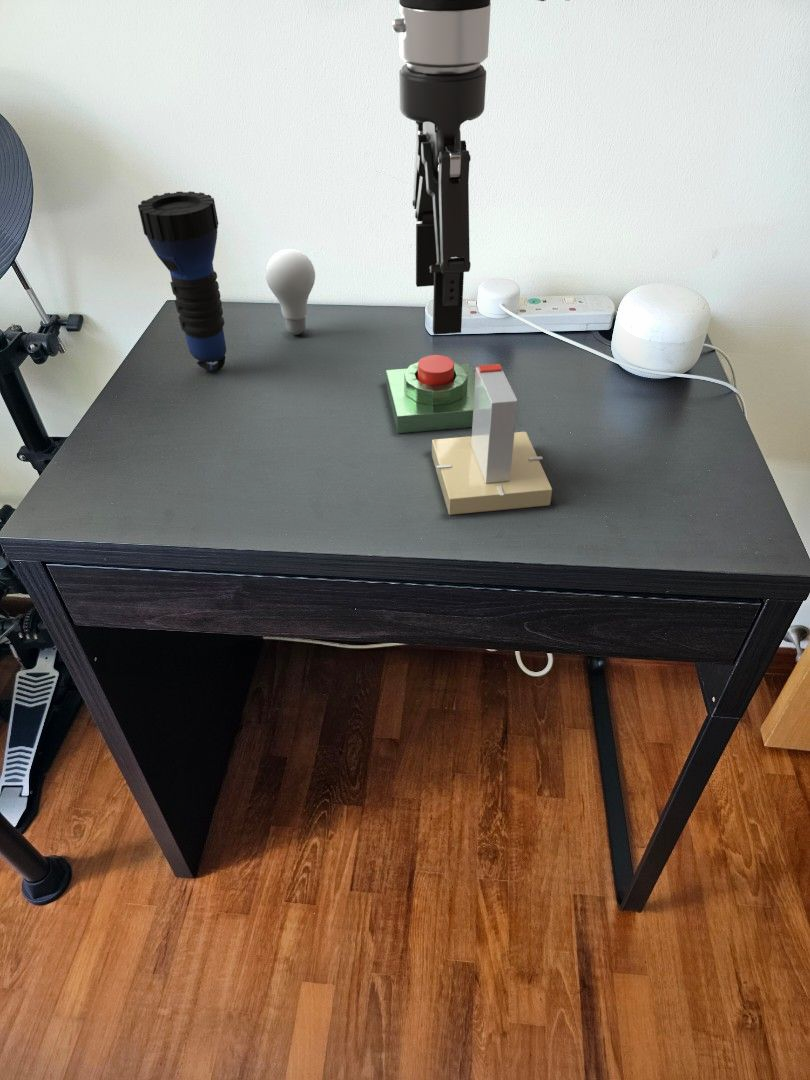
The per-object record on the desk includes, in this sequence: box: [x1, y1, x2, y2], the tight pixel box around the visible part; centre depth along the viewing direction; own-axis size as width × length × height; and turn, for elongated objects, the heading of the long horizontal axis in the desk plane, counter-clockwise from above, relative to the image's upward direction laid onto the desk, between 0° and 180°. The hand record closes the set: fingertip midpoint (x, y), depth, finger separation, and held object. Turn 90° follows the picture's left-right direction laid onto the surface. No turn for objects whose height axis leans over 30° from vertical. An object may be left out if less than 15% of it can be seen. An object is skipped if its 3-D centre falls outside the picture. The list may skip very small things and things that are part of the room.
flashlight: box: [137, 190, 227, 372], centre depth 90 cm, size 8×8×20 cm
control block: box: [385, 361, 475, 434], centre depth 89 cm, size 10×10×4 cm
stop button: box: [417, 354, 454, 386], centre depth 87 cm, size 4×4×2 cm
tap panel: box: [431, 431, 553, 516], centre depth 79 cm, size 11×11×2 cm
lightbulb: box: [265, 248, 316, 336], centre depth 100 cm, size 6×6×11 cm
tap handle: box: [471, 363, 519, 483], centre depth 75 cm, size 6×2×9 cm, turn 9°
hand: (437, 307), depth 82 cm, fingers open, 10 cm apart
